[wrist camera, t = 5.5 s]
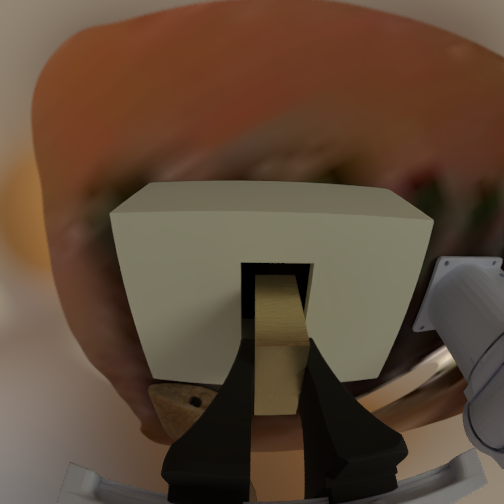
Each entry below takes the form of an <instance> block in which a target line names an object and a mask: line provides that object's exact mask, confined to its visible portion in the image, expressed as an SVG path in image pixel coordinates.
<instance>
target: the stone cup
mask: <svg viewBox="0 0 504 504" xmlns="http://www.w3.org/2000/svg"><path fill="white" fill-rule="evenodd" d="M148 393H149V395H150V399H151V401H152V404H153V406H154V409H155V411H156V413H157V414H158V417H159V419H160V421H161V423H162V425H163V427H164V429H165V431H166V433H167V434H168V435H169V437H170V438H171V439H172V440H173V441H177V440H178V439H179V438H180V437H181V436H182V435H183V434H184V433H185V432H186V431H187V430H188V429H189V428H190V427H191V426H192V425H193V424H194V423H195V422H196V421H197V420H198V419H199V417H200V416H201V415H202V414H203V413H204V411H205V410H206V409H207V407H208V406H209V405H210V403H211V402H212V401H213V399H214V398H215V396H216V395H217V393H218V392H216V391H213V390H210V389H208V388H204V387H201V386H194V385H189V384H180V383H162V384H152V385H150V386H149V388H148ZM168 487H169V485H168ZM168 491H169V488H168ZM249 502H257V497H256V491H255V489H254V487H253V484H252V482H251V480H250V497H249Z"/></svg>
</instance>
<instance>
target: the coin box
mask: <svg viewBox="0 0 504 504" xmlns="http://www.w3.org/2000/svg"><path fill="white" fill-rule="evenodd" d="M110 219H111V225H112V230H113V236H114V241H115V246H116V251H117V256H118V260H119V265H120V269H121V273H122V278H123V282H124V286H125V290H126V294H127V297H128V301H129V305H130V308H131V312H132V315H133V319H134V322H135V326H136V329H137V332H138V335H139V338H140V341H141V345H142V348H143V351H144V353H145V356H146V359H147V362H148V365H149V368H150V370H151V373H152V376H153V378H155V379H163V380H172V381H182V382H193V383H206V384H223V383H224V381H225V379H226V378H227V376H228V374H229V372H230V370H231V367H232V365H233V363H234V361H235V358H236V355H237V353H238V350H239V346H240V341H241V339H242V338H255V319H246V318H242V312H241V262H248V263H310V271H309V279H308V286H307V293H306V300H305V307H304V318H305V323H306V327H307V332H308V337H309V338H310V337H311V338H312V339H313V340H314V342H315V344H316V346H317V348H318V349H319V351H320V353H321V354H322V356H323V358H324V359H325V361H326V362H327V364H328V365H329V367H330V368H331V370H332V371H333V373H334V374H335V375H336V377H337V378H338V379H339V381H340V382H346V381H355V380H364V379H372V378H378V376H379V374H380V372H381V370H382V368H383V365H384V363H385V361H386V359H387V357H388V355H389V353H390V350H391V348H392V346H393V343H394V341H395V339H396V337H397V334H398V332H399V329H400V327H401V324H402V322H403V319H404V317H405V314H406V311H407V309H408V306H409V303H410V301H411V298H412V295H413V292H414V289H415V286H416V283H417V280H418V277H419V274H420V271H421V267H422V264H423V261H424V257H425V254H426V250H427V246H428V243H429V239H430V235H431V231H432V227H433V222H434V220H432V219H431V218H430V217H428V216H427V215H426V214H424V213H423V212H421V211H420V210H418V209H417V208H416V207H414V206H413V205H411V204H410V203H408V202H407V201H405V200H404V199H402V198H401V197H399V196H398V195H396V194H395V193H393V192H392V191H390V190H389V189H384V188H374V187H363V186H351V185H338V184H322V183H304V182H278V181H182V182H157V183H149V184H148V185H147V186H145V187H144V188H142V189H141V190H140V191H138V192H137V193H135V194H134V195H133V196H131V197H130V198H129V199H127V200H126V201H125V202H123V203H122V204H121V205H120V206H118V207H117V208H116V209H114V210H113V211H112V212H111V213H110Z"/></svg>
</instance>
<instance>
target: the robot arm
mask: <svg viewBox="0 0 504 504" xmlns="http://www.w3.org/2000/svg"><path fill="white" fill-rule="evenodd" d="M446 261H447V262H446ZM445 262H446V263H445ZM501 264H502V259H501V258H500V257H459V256H441V257H439V258H438V259H437V261H436V265H435V268H434V271H433V274H432V277H431V280H430V283H429V286H428V289H427V291H426V294H425V297H424V299H423V302H422V305H421V307H420V310H419V312H418V315H417V317H416V320H415V322H414V324H413V327H412V329H413V331H414V332H421V331H428V330H436V331H437V333H438V334H439V336H440V337H441V339H442V341H443V342H444V344H445V345H446V347H447V349H448V350H449V352H450V353H451V355H452V357H453V358H454V360H455V362H456V364H457V365H458V367H459V369H460V370H461V372H462V374H463V376H464V378H465V379H466V381H467V383H468V386H467V387H466V389H465V390H464V394H465V396H466V398H467V400H468V401H467V402H466V404H465V406H464V409H463V423H464V428H465V432H466V435H467V437H468V439H469V440H470V442H471V443H472V444H473V445H474V446H475V447H476V448H477V449H478V450H480V451H481V452H483V453H486V454H487V455H489V456H491V457H492V458H493V459H494V460H495V461H496V462H497V463H498V464H499V465H500V467H501V468H502V469H504V271H502V270H501V269H500V267H501ZM309 342H310V349H309V354H308V360H307V365H306V370H305V374H304V379H303V384H302V388H301V393H300V397H299V402H298V405H299V410H300V416H301V421H302V428H303V441H304V461H305V463H304V465H305V497H304V500H294V501H279V502H278V501H277V502H249V497H250V449H251V419H252V411H253V402H254V393H255V338H242V339H241V341H240V346H239V350H238V353H237V355H236V358H235V361H234V363H233V365H232V367H231V370H230V372H229V374H228V376H227V378H226V379H225V381H224V383H223V385H222V387H221V388H220V390H219V392H218V393H217V395H216V396H215V398H214V399H213V401H212V402H211V403H210V405H209V406H208V407H207V409H206V410H205V411H204V413H203V414H202V415H201V416H200V417H199V419H198V420H197V421H196V422H195V423H194V424H193V425H192V426H191V427H190V428H189V429H188V430H187V431H186V432H185V433H184V434H183V435H182V436H181V437H180V438H179V439H178V440H177V441H175V442H174V443H173V444H172V445H171V447H170V449H169V451H168V452H167V454H166V457H165V459H164V462H163V467H162V471H161V476H162V477H163V479H164V480H165V481H166V482H167V483H168V484H169V491H168V494H165V493H160V492H155V491H151V490H146V489H142V488H138V487H133V486H130V485H126V484H123V483H119V482H116V481H112V480H109V479H106V478H103V477H100V475H99V474H97V473H96V472H94V471H92V470H90V469H88V468H85V467H82V466H79V465H77V464H74V463H71V462H70V463H69V465H68V468H67V471H66V474H65V477H64V480H63V483H62V487H61V490H60V493H59V497H58V500H57V503H58V504H453V503H455V502H457V501H459V500H461V499H462V498H465V497H466V496H468V495H470V494H472V493H473V492H475V491H477V490H479V489H480V488H482V487H483V486H485V485H487V479H486V476H485V474H484V471H483V468H482V465H481V462H480V460H479V457H478V454H477V452H476V449H475V448H472V449H470V450H468V451H466V452H464V453H462V454H460V455H458V456H456V457H455V458H453V459H452V460H451V461H450V462H449V463H447V464H445V465H443V466H440V467H438V468H435V469H433V470H430V471H428V472H425V473H422V474H419V475H416V476H413V477H410V478H408V479H404V480H401V481H398V482H397V480H396V476H395V474H396V473H397V468H396V466H397V465H398V464H399V463H400V462H401V461H402V460H404V459H405V458H406V456H407V455H408V449H407V446H406V443H405V441H404V439H403V437H402V435H401V434H400V433H398V432H396V431H395V430H393V429H391V428H390V427H388V426H387V425H385V424H384V423H382V422H381V421H380V420H378V419H377V418H376V417H375V416H373V415H372V414H371V413H370V412H369V411H368V410H366V409H365V408H364V407H363V406H362V405H361V404H360V403H359V402H358V401H357V400H356V399H355V398H354V397H353V396H352V395H351V394H350V393H349V392H348V390H347V389H346V388H345V387H344V386H343V385H342V383H341V382H340V381H339V379H338V378H337V377H336V375H335V374H334V373H333V371H332V370H331V368H330V367H329V365H328V364H327V362H326V361H325V359H324V358H323V356H322V354H321V353H320V351H319V349H318V348H317V346H316V344H315V342H314V340H313V339H312V338H311V337H310V338H309Z"/></svg>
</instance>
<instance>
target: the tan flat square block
mask: <svg viewBox="0 0 504 504" xmlns="http://www.w3.org/2000/svg"><path fill="white" fill-rule="evenodd" d="M309 349H310V342H309V337H308V332H307V327H306V323H305V318H304V313H303V309H302V304H301V300H300V295H299V291H298V286H297V282H296V278H295V275H255V393H254V415H287V414H296V410H297V406H298V402H299V397H300V393H301V388H302V384H303V379H304V374H305V370H306V365H307V360H308V354H309Z"/></svg>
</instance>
